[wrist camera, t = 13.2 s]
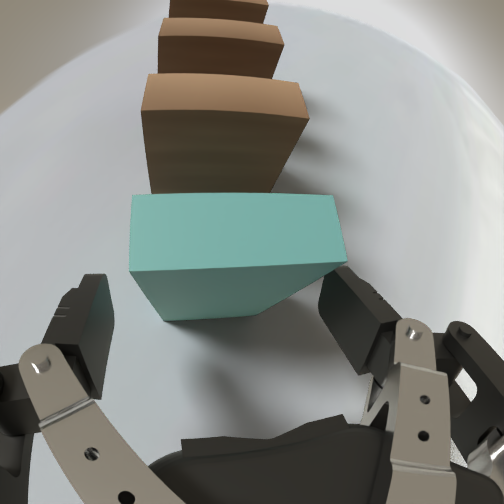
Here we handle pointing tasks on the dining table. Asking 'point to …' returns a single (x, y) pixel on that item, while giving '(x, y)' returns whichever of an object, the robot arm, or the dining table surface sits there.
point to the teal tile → (230, 250)
